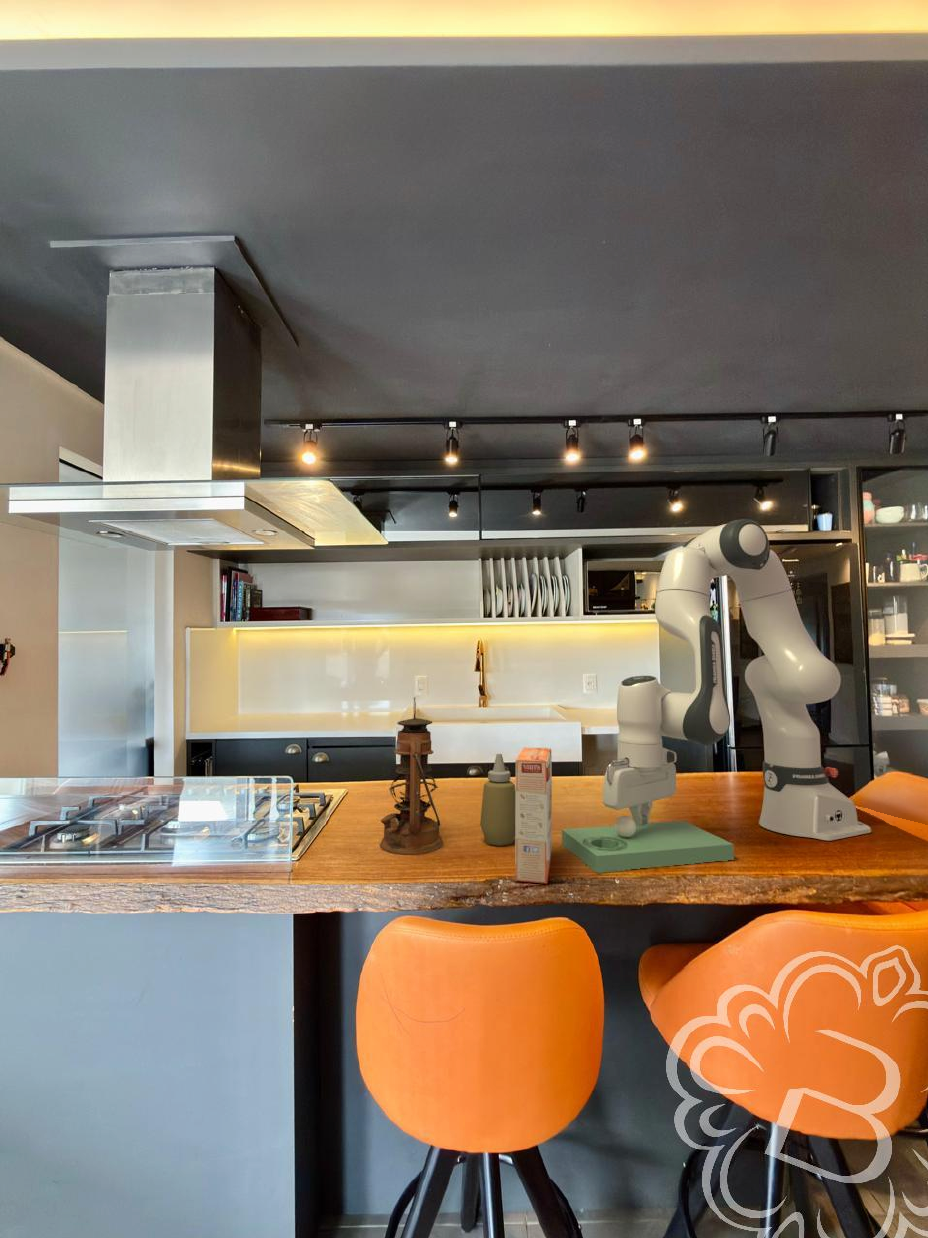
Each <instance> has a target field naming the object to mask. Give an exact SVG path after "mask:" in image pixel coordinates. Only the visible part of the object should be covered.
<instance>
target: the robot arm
mask: <svg viewBox="0 0 928 1238" xmlns="http://www.w3.org/2000/svg"><path fill="white" fill-rule="evenodd" d="M725 576H728V577H729V578H730V579H732V581H733V583H734V584H735V589H736V594H737V599H738V602H739V605H740V609H741V612H742V616H743V619H744V622H745V627H746V630H747V633H748V635H749V636H750V637H751V638H752V639H753V640H754V641H755V643H757V645H758V646H759V648H760V650H761V651H762V652H763V654H764V655H762V656H759V657H756V658H754V659H753V660H752V661H751V662H749V663H748V665H747V666H746V669H745V672H744V679H745V682H746V686H747V687H748V688H749V690H750V692H752V695H753V697H754V699H755V703H756V706H757V710H758V713H759V717H760V721H761V725H762V733H763V734H762V735H763V751H764V760H763V762H762V777H763V782H764V790H763V798H762V799H763V801H762V808H761V811H760V812H761V813H760V817H759V820H758V825H759V826H761V827H763V828H764V829H767V830H769V831H772V832H776V833H779V834H782V835H783V834H785V835H789V836H795V837H803V838H810V839H811V838H812V839H816V840H817V839H818V840H822V841H827V842H828V841H829V842H830V841H836V840H840V839H845V838H849V837H851V838H852V837H855V836H859V835H864V834H865V835H866V834H869V833H872V828H871V827H870V826H869V825H867V824H866V823H863V822H861V821H858V813H857V808H856V805H855V804H854V802H853V801H852V800H851V799H850V798H849V797H847V795H845V794H844V793H842V792H841V791H840V790H838V789H837V788H836V787H835V786H833V785H832V784H831V783H830V780H829V778H828V777H832V778H837V777H838V776H839V770H838V768H835V767H830V766H826V767H823V765H822V759H821V735H820V730H819V728H818V727H817V725H816V724H815V723H814V721H813V720H812V718H811V716H810V714H809V710H808V708H807V705H813V704H817V703H823V702H826V701H829V700H831V699H832V698H833V697H835V696H836V695H837V693H838V692H839V690H840V686H841V682H842V681H841V680H842V678H841V673H840V670H839V669H838V667H837V666H836V665H835V663H834V662H833V661H831V660H829V659H828V658H827V657H826V656H825V655H824V654H823V653H822V652H821V651H820V649H819V648H818V646H817V645H816V643H815V642H814V640H813V638H812V637H811V636H810V634H809V632H808V631H807V629H806V627H805V625H804V622H803V620H802V618H801V615H800V611H799V608H798V606H797V602H796V599H795V595H794V592H793V588H792V586H791V582H790V580H789V577H788V574H787V573H786V569H785V568H784V566H783V563H782V561H781V560H780V558H779V556H778V555H777V553H776V552H775V551H774V550H772V549H771V547H770V541H769V538H768V535H767V533H766V531H765V529H764V528H763V527H762V526H761V525H760V524H759V523H758V522H757V521H755V520H753V519H751V518H750V519H748V518H746V519H745V518H744V519H736V520H731V521H729V522H727V523H725V524H721V525H718V526H715V527H712V528H710V529H708V530H707V531H705V532H703V533H701V534H700V535H698V536H695V537H692V538H691V539H689V540H688V541H687V542H685V544H684V545H683V546H682V547H678V548H675V549H672V550H671V551H670V552H669V553H667V555H666V557H665V558H664V561H663V564H662V568H661V571H660V574H659V579H658V583H657V590H656V597H655V605H654V613H655V619H656V621H657V622H658V624H659V625H660V627H661V628H662V629H663V630H664V631H666V632H667V633H669V634H671V635H672V636H674V637H677V638H679V639H682V640H684V641H685V642H687V643H688V644H689V645H690V646H691V648H692V650H693V653H694V668H695V669H694V670H695V671H694V673H695V690H694V691H693V692H677V691H672V690H671V689H669V688H666V687H665V686H663V685H662V684H660V682H659V681H658V678H657V677H656V676H653V675H639V676H631V677H628V678H624V679H623V680H622V681H621V682H620V685H619V687H618V692H617V703H616V720H617V723H618V735H617V759H613V760H611V761H610V763H609V765H608V766H607V767H606V772H605V774H604V777H603V788H602V803H603V805H604V806H605V807H606V808H608V809H612V810H616V811H620V810H624V809H628V810H629V811H630V813H631V817H632V819H633V820H634V822H635V824H636V826H642V825H646V824H648V823H650V814H651V812H652V809H653V802H655V801H659V800H663V799H667V798H671V797H673V796H675V793H676V790H677V769H676V765H675V764H674V763H676V762H677V759H678V758H677V752H676V751H673V750H671V749H669V748H666V747H663V738H662V737H666V738H667V737H668V738H671V739H678V740H685V741H689V742H692V743H695V744H699V745H704V746H712V745H714V744H716V743H718V742H719V741H720V740H722V738H723V737H724V736H726V734H727V733H728V731H729V729H730V726H731V714H730V710H729V705H728V704H729V703H728V701H727V695H726V694H727V693H726V679H725V678H726V676H725V662H724V661H725V660H724V646H723V636H722V630H721V627H720V624H719V622H718V621H717V619H716V618H713V615H712V613H711V609H710V599H711V589H712V587H711V585H712V580H713V579H716V578H720V577H725Z"/></svg>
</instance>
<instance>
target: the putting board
mask: <svg viewBox="0 0 928 1238" xmlns="http://www.w3.org/2000/svg"><path fill="white" fill-rule="evenodd" d="M561 845H562V846H563V847H564V848H566V849H567V850H568V851H569V852H571V853H572V854H573V855H574V856H575V855H576V856H575V857H577V856H578V857H579V858H580V859H581V860H580V859H579V858H578V857H577V858H578V859H579V860H580V861H581V862H582V863H584V864H585V865H586V864H587V865H586V866H588V867H589V868H590V869H591V870H592V871H594V872H595V873H596V874H604V873H605V872H606V873H614V872H615V873H616V871H617V872H624V871H625V870H627V871H632V870H631V869H638V870H641V869H640V868H647V867H658V866H670V867H672V866H671V865H681V866H685V865H684V864H691V865H696V864H695V863H702V864H704V863H703V862H713V863H715V862H714V861H723V862H729V861H728V860H734V861H735V846H734V845H735V844H733V842H729V841H727V840H726V839H723V838H721V837H719V836H717V835H715V834H712V833H711V832H708V831H706V830H704V829H702V828H700V827H697V826H696V825H693V824H692V823H689V822H687V821H685V820H675V821H673V820H672V821H660V822H649V823H648V824H646V825H642V826H636V831H635V833H634V834H633V835H632V836H630V837H622V836H620V835H619V834H618V833H617V831H616V829H615V825H605V826H593V827H592V826H589V827H579V828H578V827H577V828H565V829H563V828H562V829H561ZM606 873H605V874H606Z"/></svg>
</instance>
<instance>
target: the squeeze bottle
mask: <svg viewBox="0 0 928 1238" xmlns="http://www.w3.org/2000/svg"><path fill="white" fill-rule="evenodd" d="M487 778H488V779H487V780H488V781H486V782H484V784H483V790H482V791H483V792H482V801H481V809H480V810H481V812H480V820H479V821H480V828H481V832H482V834H483V837H484V838H483V839H484V841H485V842H486V843H487V844H489V845H493V846H509V845H511V844H513V843H515V809H516V783H514V782H512V781H511V771H509V770H506V767H505V763H504V758H503V754H502V753H497V754H495V759H494V765H493V769H491V770H489V771H488V772H487Z"/></svg>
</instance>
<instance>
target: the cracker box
mask: <svg viewBox="0 0 928 1238" xmlns="http://www.w3.org/2000/svg"><path fill="white" fill-rule="evenodd" d="M552 765H553V764H552V749H551V748H547V747H523V748H522V750H521V751H519V754H518V755H517V757H516V758H515V792H516V809H515V839H514V844H515V847H514V849H515V851H514V856H515V857H514V858H515V859H514V865H515V866H514V870H515V871H514V876H515V881H516V882H522V883H523V882H524V883H535V884H536V883H537V884H546V885H547V884H548V881H549V880H548V879H549V873H550V866H551V860H552V832H553V831H552V827H553V826H552V824H553V823H552V821H553V820H552V817H553V816H552V814H553V813H552V810H553V809H552V808H553V807H552V802H553V799H552V798H553V797H552V795H553V794H552V793H553V791H552V790H553V788H552V787H553V785H552V783H553V780H552V778H553V777H552V771H553V770H552Z"/></svg>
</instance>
